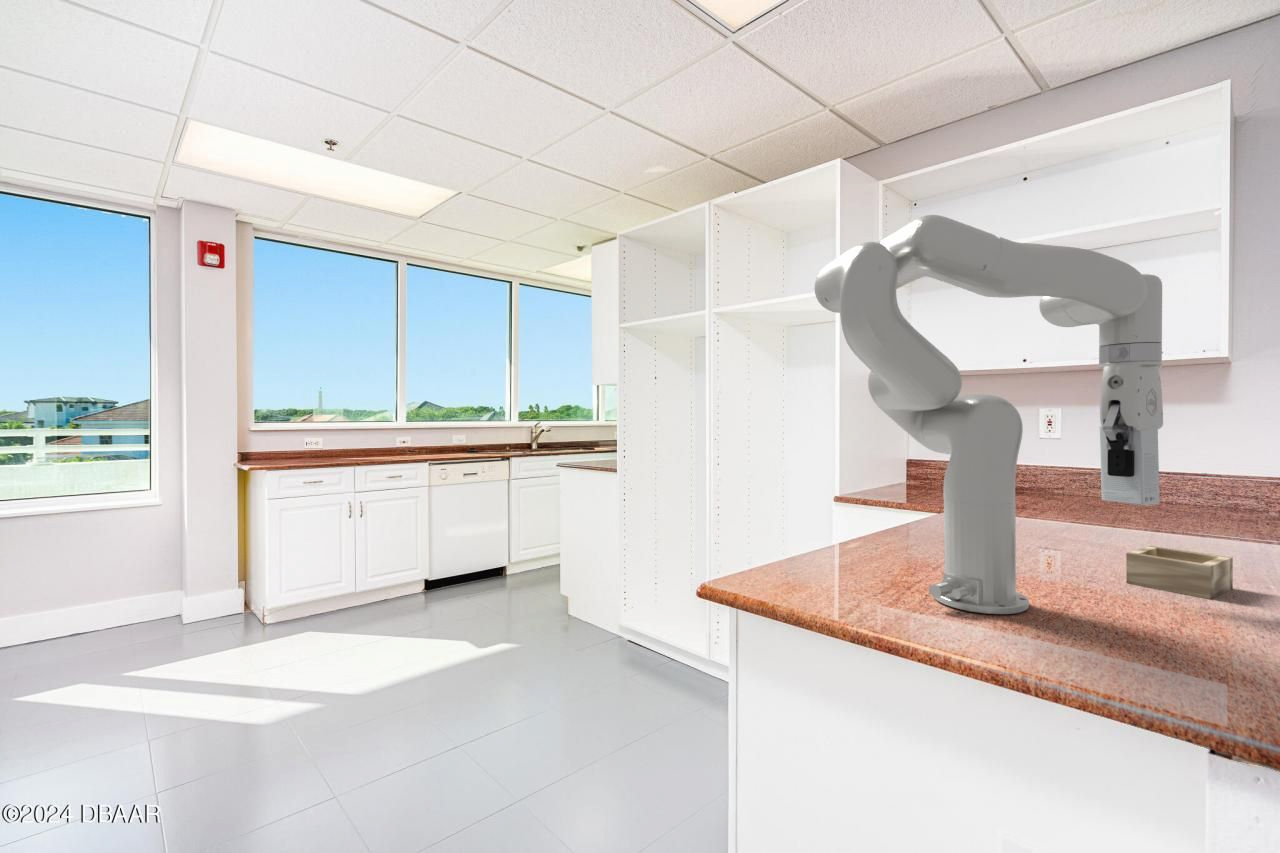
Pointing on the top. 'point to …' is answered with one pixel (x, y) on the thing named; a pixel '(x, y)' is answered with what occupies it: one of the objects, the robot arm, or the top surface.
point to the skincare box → (1145, 470)
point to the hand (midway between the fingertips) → (1128, 473)
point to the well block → (1180, 571)
